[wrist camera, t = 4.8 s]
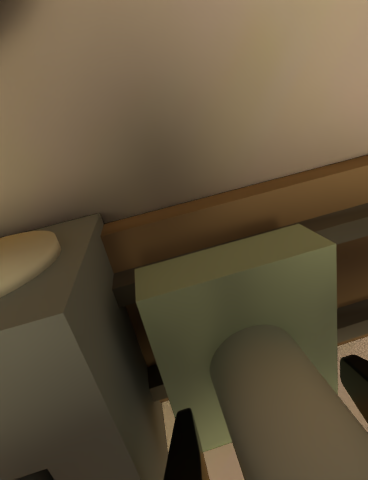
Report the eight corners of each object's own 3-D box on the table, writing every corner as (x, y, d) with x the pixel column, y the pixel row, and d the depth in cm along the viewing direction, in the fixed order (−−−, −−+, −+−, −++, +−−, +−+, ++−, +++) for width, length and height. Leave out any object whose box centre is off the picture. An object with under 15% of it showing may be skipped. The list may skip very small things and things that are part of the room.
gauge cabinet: (159, 385, 15) (181, 565, 9) (49, 419, 15) (-12, 637, 9) (96, 203, 12) (54, 295, 5) (-57, 242, 11) (-321, 399, 5)
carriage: (307, 366, 13) (548, 683, 5) (179, 408, 12) (254, 819, 5) (298, 223, 10) (747, 466, 3) (134, 269, 10) (151, 715, 2)
